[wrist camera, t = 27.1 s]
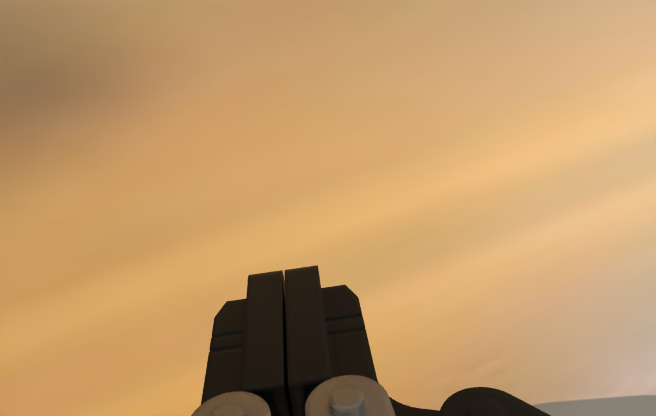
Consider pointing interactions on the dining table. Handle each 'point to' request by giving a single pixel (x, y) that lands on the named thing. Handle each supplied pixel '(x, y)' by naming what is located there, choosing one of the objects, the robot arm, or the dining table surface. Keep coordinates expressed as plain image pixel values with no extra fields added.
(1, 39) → the dining table surface
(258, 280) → the robot arm
